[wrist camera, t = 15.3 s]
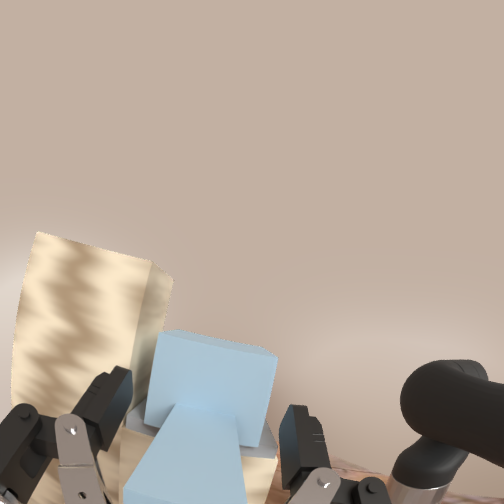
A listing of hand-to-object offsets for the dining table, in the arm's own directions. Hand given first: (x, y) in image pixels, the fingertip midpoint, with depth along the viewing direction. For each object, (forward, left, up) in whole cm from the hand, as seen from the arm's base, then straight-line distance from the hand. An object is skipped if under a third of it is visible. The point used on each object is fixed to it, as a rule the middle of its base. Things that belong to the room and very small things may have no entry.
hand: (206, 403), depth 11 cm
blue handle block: (0, -2, -4) cm, 4 cm away
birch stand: (+5, -7, -31) cm, 32 cm away
